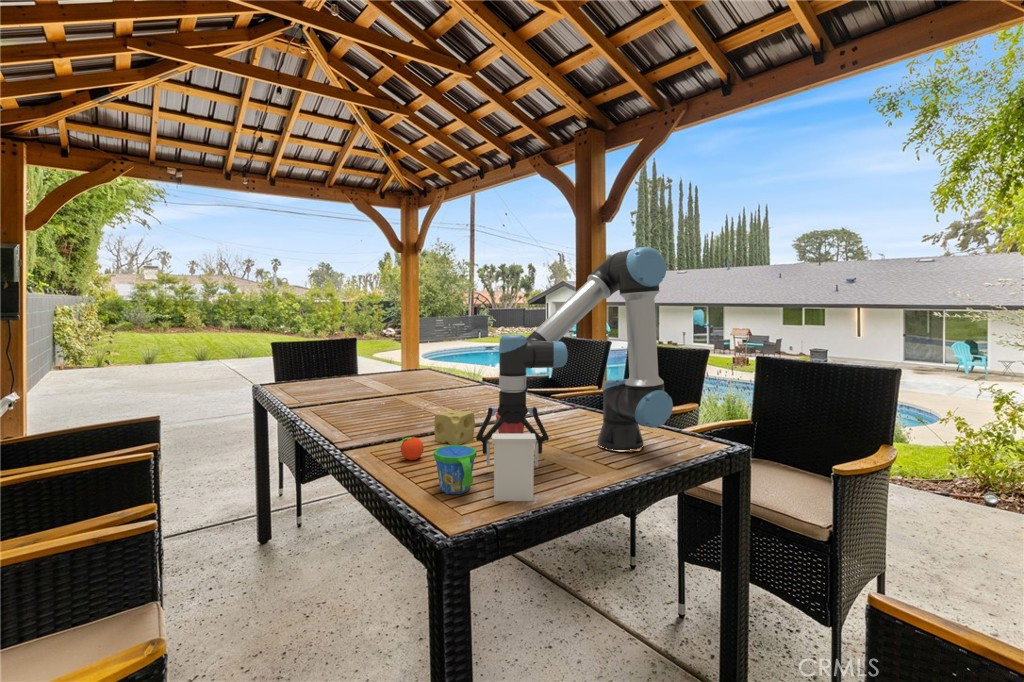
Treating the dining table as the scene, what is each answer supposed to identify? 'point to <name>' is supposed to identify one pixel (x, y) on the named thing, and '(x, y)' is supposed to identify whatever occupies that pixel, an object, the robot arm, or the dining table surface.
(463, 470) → the snack cup
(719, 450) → the dining table surface
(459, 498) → the dining table surface
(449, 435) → the cheese
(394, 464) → the dining table surface
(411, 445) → the clementine
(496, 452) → the tall white pillar
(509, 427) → the flower pot
